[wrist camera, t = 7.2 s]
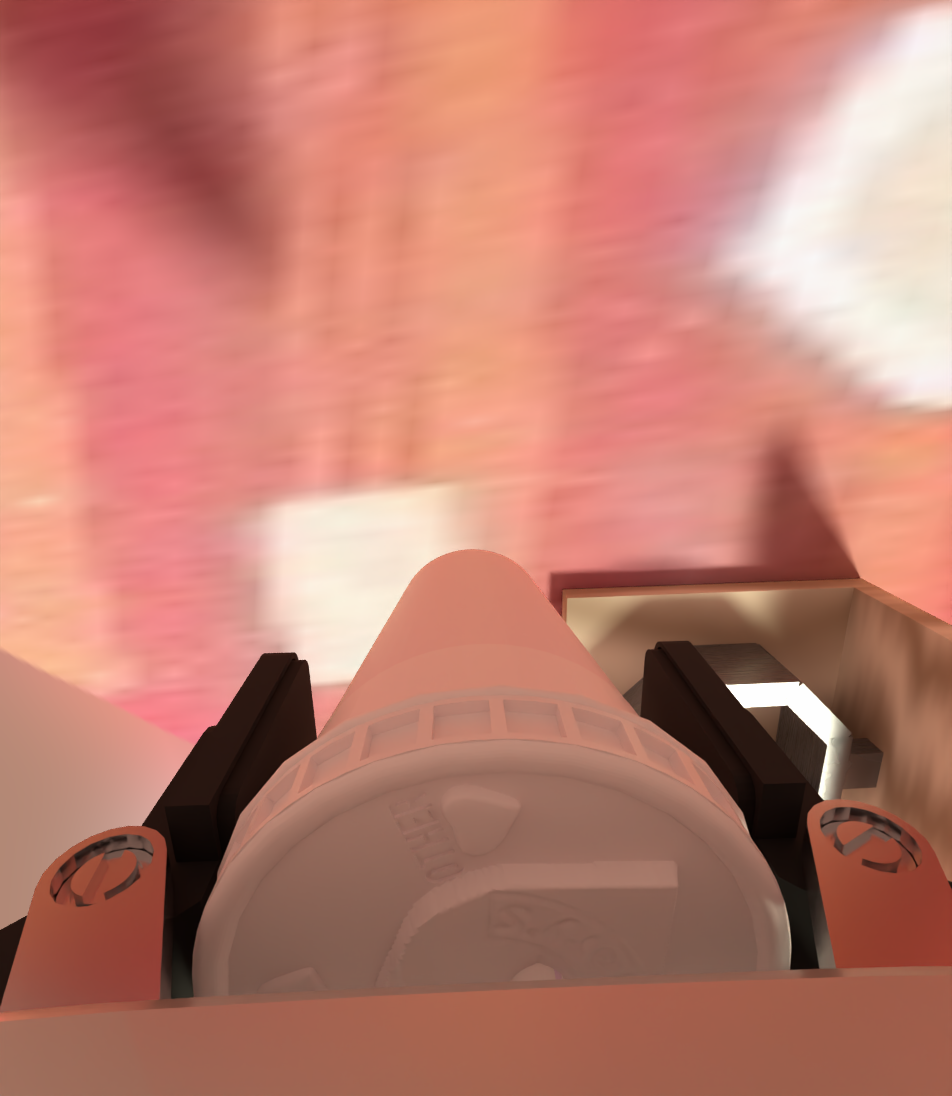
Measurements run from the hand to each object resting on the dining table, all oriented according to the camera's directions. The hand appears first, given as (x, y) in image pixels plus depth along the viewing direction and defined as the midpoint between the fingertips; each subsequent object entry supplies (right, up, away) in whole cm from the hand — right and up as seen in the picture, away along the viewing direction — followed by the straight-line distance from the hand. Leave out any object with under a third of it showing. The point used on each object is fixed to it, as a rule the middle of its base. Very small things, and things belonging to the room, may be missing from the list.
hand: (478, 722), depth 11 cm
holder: (+13, -6, +23) cm, 27 cm away
